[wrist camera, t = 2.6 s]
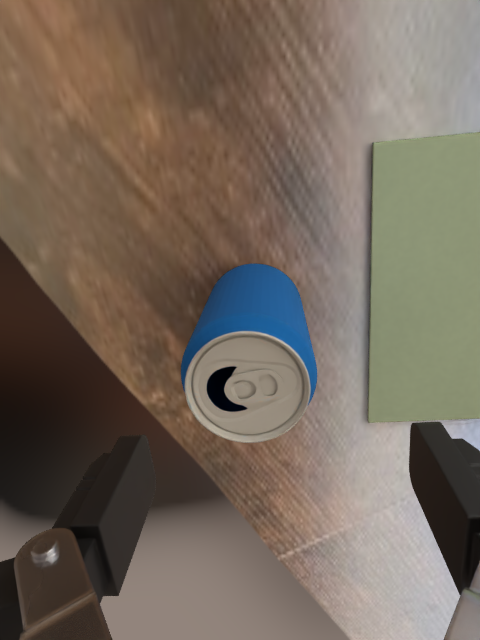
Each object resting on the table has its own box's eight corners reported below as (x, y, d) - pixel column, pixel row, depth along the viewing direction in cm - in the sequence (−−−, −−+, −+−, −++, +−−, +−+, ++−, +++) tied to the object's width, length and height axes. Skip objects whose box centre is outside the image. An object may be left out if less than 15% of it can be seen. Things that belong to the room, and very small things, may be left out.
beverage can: (199, 271, 29) (157, 338, 18) (291, 251, 28) (306, 309, 17) (222, 354, 31) (196, 460, 20) (308, 338, 30) (331, 439, 19)
